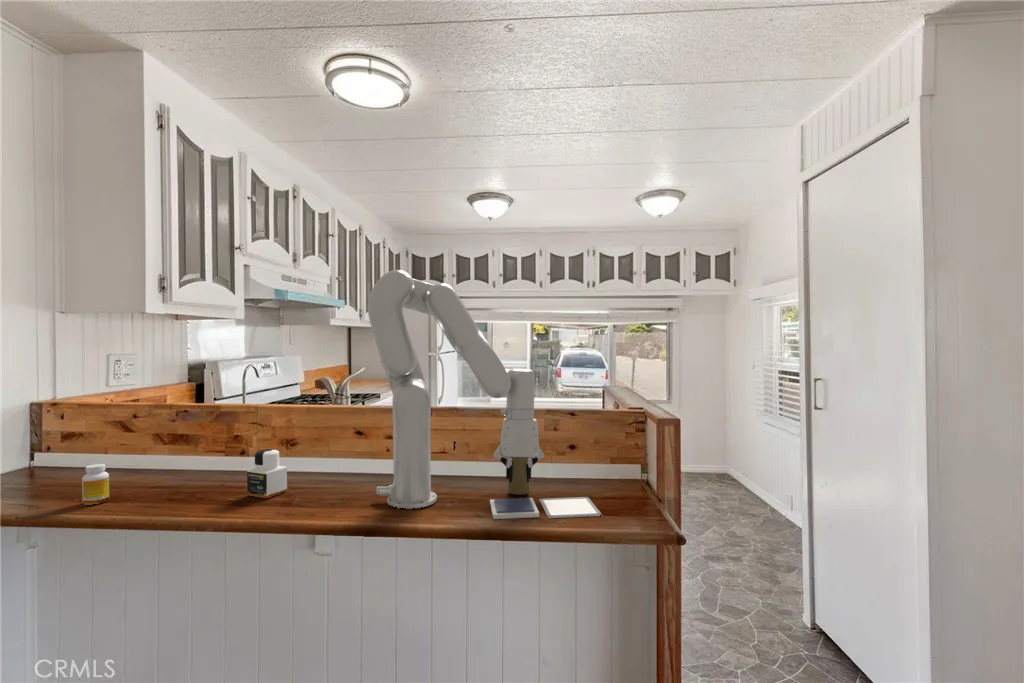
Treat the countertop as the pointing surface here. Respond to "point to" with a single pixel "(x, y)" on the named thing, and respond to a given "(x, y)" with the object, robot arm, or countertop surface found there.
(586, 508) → the marked square
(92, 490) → the supplement bottle
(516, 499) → the ink pad
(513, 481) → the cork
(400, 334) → the robot arm
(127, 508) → the countertop surface
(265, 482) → the medicine bottle
